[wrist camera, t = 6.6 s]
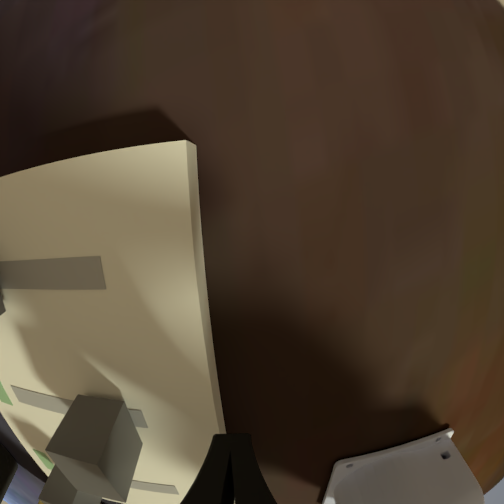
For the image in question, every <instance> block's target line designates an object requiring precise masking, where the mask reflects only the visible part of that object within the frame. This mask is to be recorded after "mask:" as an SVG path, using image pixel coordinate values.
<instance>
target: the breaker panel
mask: <svg viewBox="0 0 504 504" xmlns="http://www.w3.org/2000/svg"><path fill="white" fill-rule="evenodd" d="M0 292H1V296H2V299H3V303H4V306H5V309H6V312H4V313H3V314H2V315H0V412H1V413H2V415H3V417H4V418H5V420H6V421H7V423H8V424H9V426H10V427H11V429H12V430H13V432H14V433H15V435H16V436H17V438H18V439H19V441H20V442H21V443H22V445H23V446H24V447H25V449H26V450H27V451H28V453H29V454H30V455H31V457H32V458H33V459H34V460H35V462H36V463H37V464H38V465H39V467H40V468H41V469H42V470H43V471H44V473H45V474H46V475H47V476H48V477H49V475H50V473H51V471H52V469H53V467H54V465H55V463H54V462H53V460H52V459H51V458H50V456H49V455H48V454H47V452H46V451H45V449H46V447H47V445H48V443H49V442H50V440H51V438H52V436H53V435H54V433H55V431H56V429H57V428H58V426H59V424H60V423H61V421H62V419H63V418H64V416H65V414H66V413H67V411H68V409H69V408H70V406H71V404H72V403H73V401H74V400H75V398H76V396H77V395H78V394H80V395H86V396H92V397H99V398H106V399H113V400H122V401H125V403H126V406H127V408H128V411H129V413H130V416H131V418H132V420H133V423H134V425H135V427H136V430H137V432H138V434H139V436H140V439H141V441H142V443H143V445H142V449H141V452H140V455H139V459H138V462H137V465H136V469H135V472H134V476H133V479H132V483H131V486H130V490H129V493H128V497H127V501H126V503H124V502H120V501H115V500H111V499H107V498H103V497H102V499H106V500H110V501H115V502H119V503H123V504H180V503H181V501H182V500H183V499H184V497H185V495H186V494H187V492H188V491H189V489H190V487H191V486H192V484H193V482H194V480H195V479H196V477H197V475H198V473H199V471H200V469H201V467H202V465H203V462H204V460H205V458H206V455H207V453H208V450H209V448H210V445H211V441H212V438H213V435H215V434H226V429H225V423H224V417H223V410H222V404H221V397H220V390H219V384H218V377H217V369H216V362H215V354H214V346H213V338H212V330H211V322H210V313H209V304H208V295H207V285H206V275H205V264H204V253H203V242H202V230H201V217H200V202H199V187H198V170H197V150H196V145H195V144H193V143H191V142H189V141H187V140H181V141H172V142H164V143H156V144H148V145H141V146H134V147H128V148H122V149H116V150H110V151H104V152H99V153H94V154H89V155H84V156H79V157H75V158H70V159H66V160H61V161H57V162H53V163H49V164H45V165H41V166H37V167H33V168H30V169H26V170H23V171H19V172H16V173H12V174H9V175H6V176H2V177H0ZM234 504H235V501H234Z"/></svg>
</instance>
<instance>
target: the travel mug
mask: <svg viewBox="0 0 504 504" xmlns="http://www.w3.org/2000/svg"><path fill="white" fill-rule="evenodd" d="M17 468H18V465H17V463H16V461H15V459H14V458H13V457H12V455H11V454H10V453H9V452H8V451H7V450H6V449H5V448H4V447H3V445H2V444H0V504H1V502H2V500H3V498H4V495H5V493H6V491H7V489H8V487H9V485H10V483H11V481H12V479H13V477H14V475H15V472H16V470H17Z"/></svg>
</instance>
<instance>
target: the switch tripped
mask: <svg viewBox="0 0 504 504" xmlns="http://www.w3.org/2000/svg"><path fill="white" fill-rule="evenodd" d="M142 445H143V443H142V441H141V439H140V436H139V434H138V432H137V430H136V427H135V425H134V423H133V420H132V418H131V416H130V413H129V411H128V408H127V406H126V403H125V401H122V400H113V399H106V398H99V397H92V396H86V395H80V394H78V395H77V396H76V398H75V400H74V401H73V403H72V404H71V406H70V408H69V409H68V411H67V413H66V414H65V416H64V418H63V419H62V421H61V423H60V424H59V426H58V428H57V429H56V431H55V433H54V435H53V436H52V438H51V440H50V442H49V443H48V445H47V447H46V449H45V451H46V452H47V454H48V455H49V456H50V458H51V459H52V460H53V462H54V463H55V464H56V466H57V467H58V468H59V469H60V471H61V472H62V473H63V474H64V475H65V477H66V478H67V479H68V480H69V481H70V483H71V484H72V485H73V486H74V487H75V488H76V489H77V490H78V491H82V492H85V493H88V494H92V495H96V496H99V497H103V498H107V499H111V500H115V501H120V502H124V503H126V501H127V497H128V493H129V490H130V486H131V483H132V479H133V476H134V472H135V469H136V465H137V462H138V459H139V455H140V452H141V449H142Z"/></svg>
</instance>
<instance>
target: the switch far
mask: <svg viewBox="0 0 504 504" xmlns="http://www.w3.org/2000/svg"><path fill="white" fill-rule="evenodd" d="M38 499H39V500H40V501H41V502H43V503H44V504H100V502H101V499H102V497H99V496H96V495H92V494H88V493H85V492H82V491H78V490H77V489H76V488H75V487H74V486H73V485H72V484H71V483H70V481H69V480H68V479H67V478H66V477H65V475H64V474H63V473H62V472H61V471H60V469H59V468H58V467H57V466H56V464H55V465H54V467H53V469H52V471H51V473H50V475H49V477H48V479H47V481H46V483H45V485H44V487H43V490H42V492H41V494H40V496H39V498H38Z"/></svg>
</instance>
